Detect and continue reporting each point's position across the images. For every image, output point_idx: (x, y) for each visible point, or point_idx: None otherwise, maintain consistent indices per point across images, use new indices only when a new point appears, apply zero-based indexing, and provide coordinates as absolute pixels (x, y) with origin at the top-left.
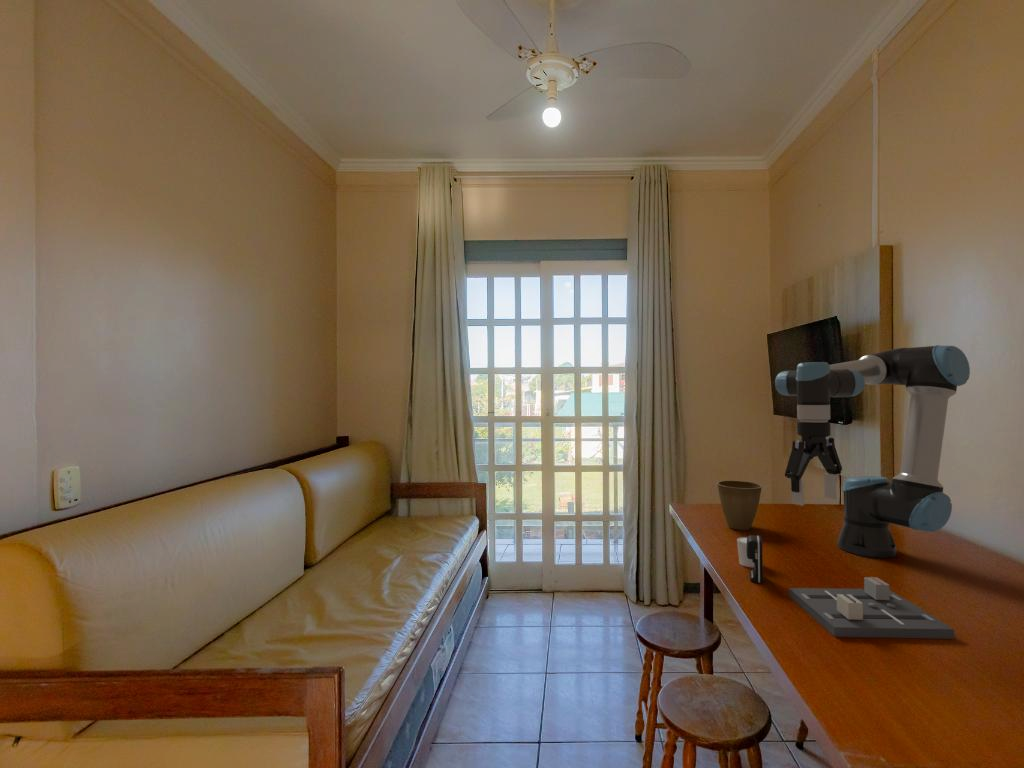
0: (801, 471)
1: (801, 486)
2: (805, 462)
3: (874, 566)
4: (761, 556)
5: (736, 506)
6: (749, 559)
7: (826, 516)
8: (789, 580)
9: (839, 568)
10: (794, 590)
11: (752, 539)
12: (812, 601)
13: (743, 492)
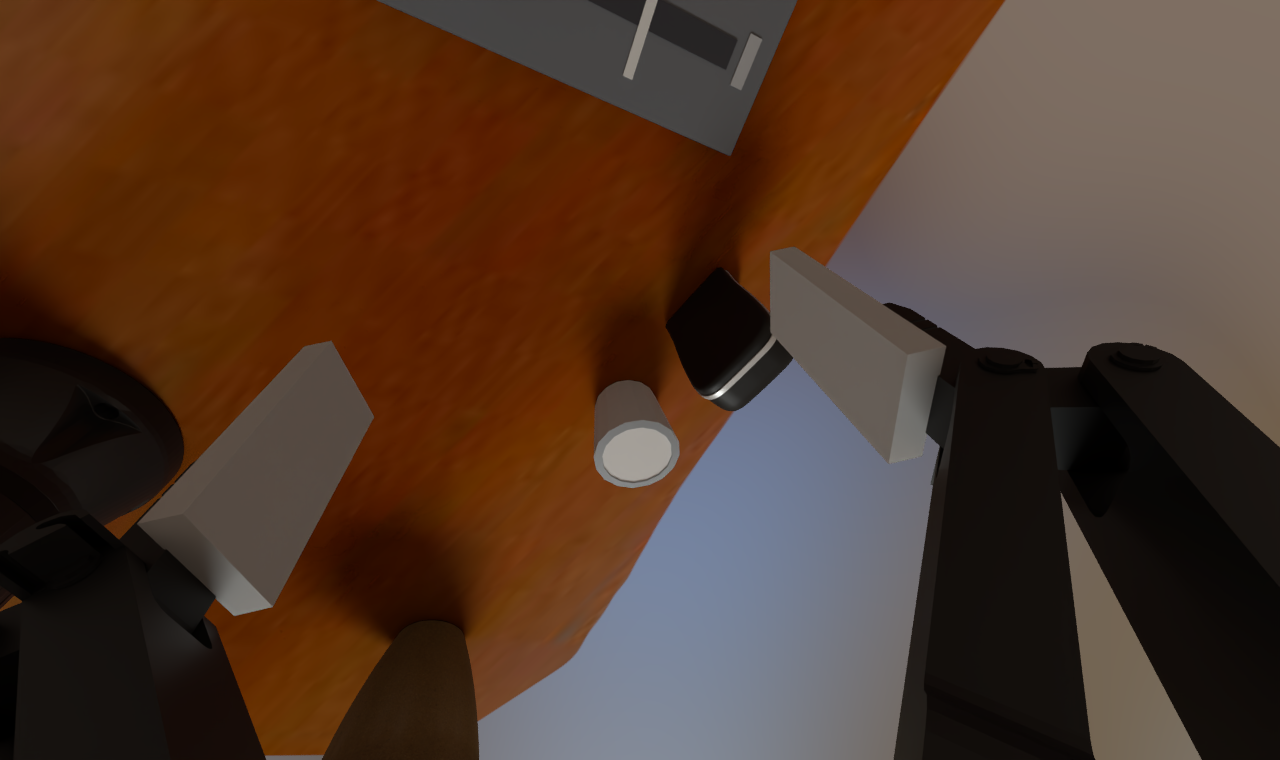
0: (1031, 428)
1: (893, 313)
2: (1058, 582)
3: (153, 280)
4: (754, 299)
5: (453, 696)
6: (652, 398)
7: None
8: (610, 263)
9: (334, 302)
10: (730, 129)
11: (780, 360)
12: (759, 11)
13: (422, 753)
